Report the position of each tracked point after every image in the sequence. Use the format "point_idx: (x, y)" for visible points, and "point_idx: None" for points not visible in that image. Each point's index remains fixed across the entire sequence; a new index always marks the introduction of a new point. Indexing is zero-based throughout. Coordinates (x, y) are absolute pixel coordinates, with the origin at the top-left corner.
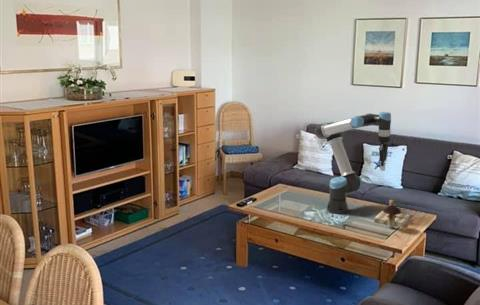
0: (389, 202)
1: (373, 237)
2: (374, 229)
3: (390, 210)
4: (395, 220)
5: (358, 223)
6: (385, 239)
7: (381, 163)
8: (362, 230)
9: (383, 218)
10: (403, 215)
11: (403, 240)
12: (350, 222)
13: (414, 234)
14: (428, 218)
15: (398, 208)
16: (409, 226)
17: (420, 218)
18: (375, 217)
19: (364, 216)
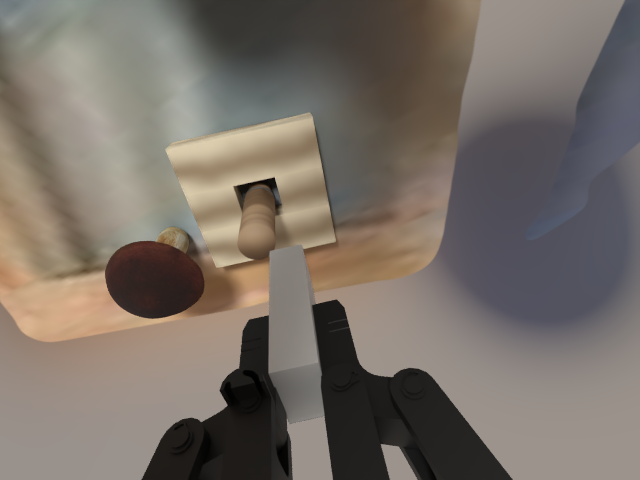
0: (242, 227)
1: (10, 241)
2: (92, 196)
3: (115, 299)
4: (221, 238)
5: (81, 87)
6: (45, 280)
7: (243, 361)
8: (23, 163)
9: (200, 187)
10: (311, 229)
11: (103, 319)
12: (47, 37)
13: (189, 315)
14: (388, 274)
15: (175, 311)
16: (251, 270)
17: (370, 256)
18: (178, 150)
19: (210, 46)
